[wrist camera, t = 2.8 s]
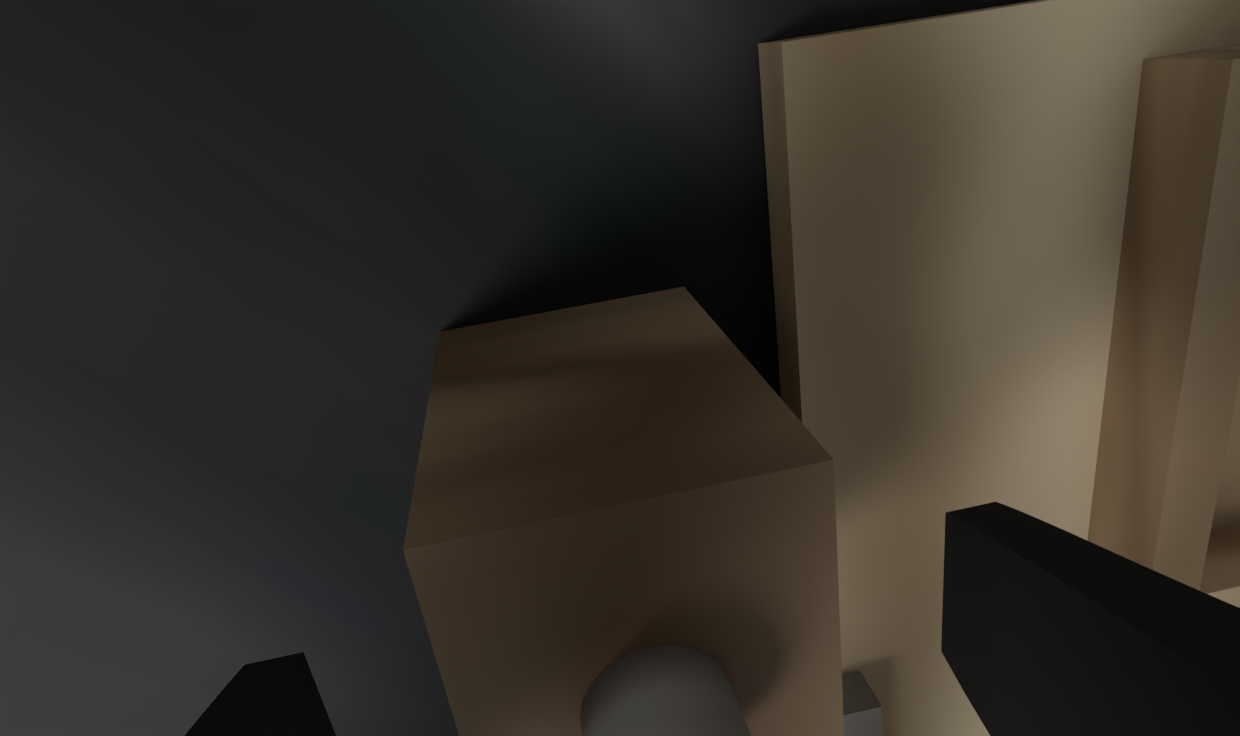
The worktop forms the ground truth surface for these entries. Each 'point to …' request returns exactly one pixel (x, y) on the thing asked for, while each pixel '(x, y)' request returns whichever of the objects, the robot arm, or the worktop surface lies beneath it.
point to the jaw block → (623, 531)
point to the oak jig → (1008, 301)
